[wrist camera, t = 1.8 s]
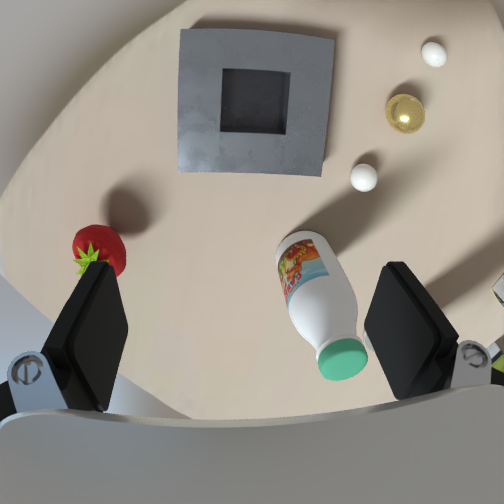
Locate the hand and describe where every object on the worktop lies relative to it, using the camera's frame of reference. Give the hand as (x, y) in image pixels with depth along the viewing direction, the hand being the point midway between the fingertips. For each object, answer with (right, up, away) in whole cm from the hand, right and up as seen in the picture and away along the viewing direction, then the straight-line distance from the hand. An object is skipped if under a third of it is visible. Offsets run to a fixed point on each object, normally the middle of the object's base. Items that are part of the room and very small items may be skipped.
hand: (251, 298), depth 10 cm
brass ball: (+18, +18, +21) cm, 33 cm away
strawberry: (-19, +4, +29) cm, 35 cm away
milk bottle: (+7, +1, +33) cm, 34 cm away
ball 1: (+14, +11, +26) cm, 31 cm away
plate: (0, +19, +22) cm, 29 cm away
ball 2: (+23, +26, +17) cm, 39 cm away
